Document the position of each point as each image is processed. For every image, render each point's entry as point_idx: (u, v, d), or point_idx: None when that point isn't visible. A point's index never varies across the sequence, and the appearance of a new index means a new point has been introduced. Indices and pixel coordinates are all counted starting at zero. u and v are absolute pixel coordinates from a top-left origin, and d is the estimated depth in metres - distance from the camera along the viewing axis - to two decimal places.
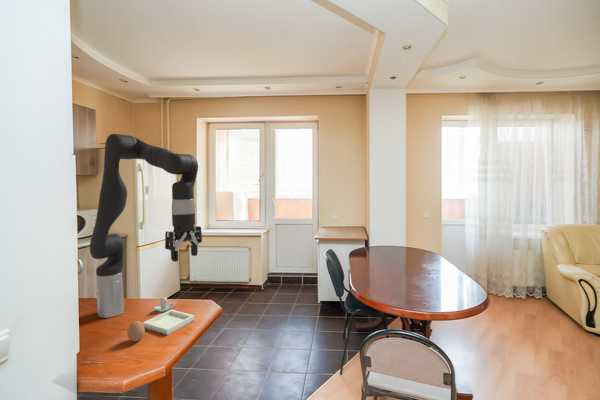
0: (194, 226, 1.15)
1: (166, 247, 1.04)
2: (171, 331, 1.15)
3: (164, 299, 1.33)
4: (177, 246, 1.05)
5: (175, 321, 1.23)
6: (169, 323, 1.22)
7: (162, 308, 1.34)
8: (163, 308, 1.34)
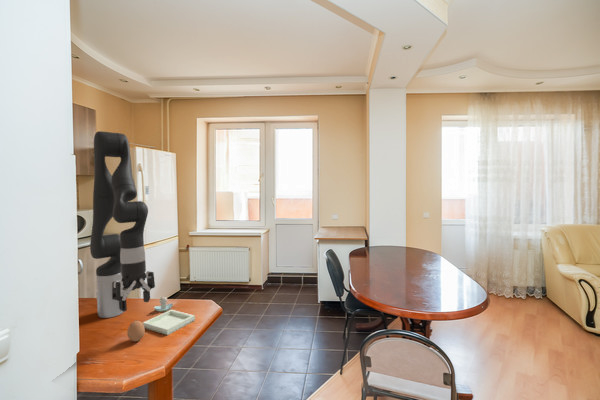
0: None
1: (113, 298, 1.03)
2: (171, 331, 1.15)
3: (164, 299, 1.33)
4: (125, 296, 1.04)
5: (175, 321, 1.23)
6: (169, 323, 1.22)
7: (162, 308, 1.34)
8: (163, 308, 1.34)
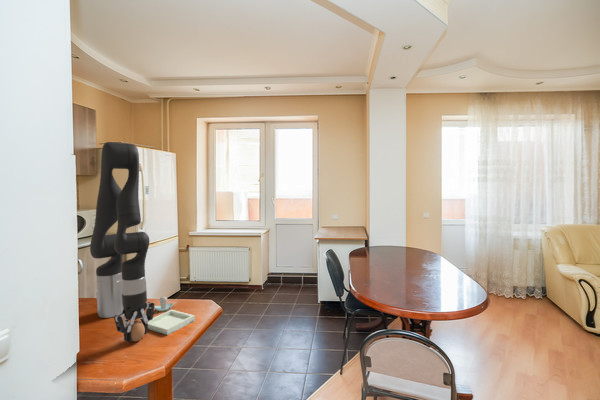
0: (148, 302, 1.15)
1: (118, 330, 1.04)
2: (171, 331, 1.15)
3: (164, 298, 1.34)
4: (129, 327, 1.06)
5: (175, 321, 1.23)
6: (169, 323, 1.22)
7: (162, 307, 1.34)
8: (163, 307, 1.34)
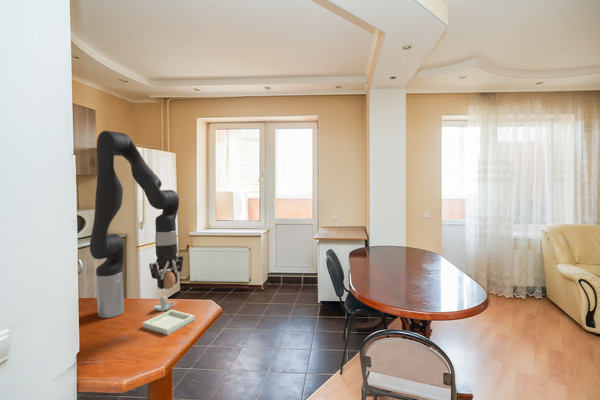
0: (177, 256, 1.26)
1: (153, 277, 1.16)
2: (171, 331, 1.15)
3: (164, 298, 1.34)
4: (162, 275, 1.17)
5: (175, 321, 1.23)
6: (169, 323, 1.22)
7: (162, 307, 1.35)
8: (163, 307, 1.35)
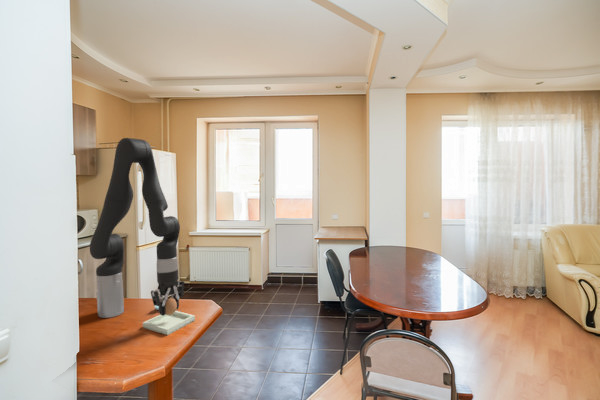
0: None
1: (154, 304, 1.17)
2: (171, 331, 1.15)
3: None
4: (164, 302, 1.18)
5: (175, 321, 1.23)
6: (169, 323, 1.22)
7: None
8: None
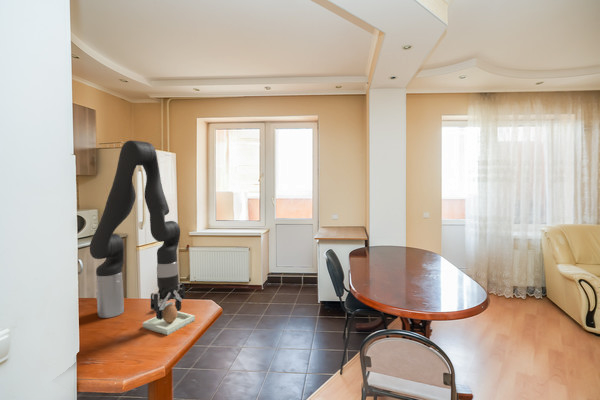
0: (178, 283, 1.27)
1: (151, 308, 1.16)
2: (171, 331, 1.15)
3: None
4: (161, 306, 1.17)
5: (175, 321, 1.23)
6: (169, 323, 1.22)
7: None
8: (163, 307, 1.35)
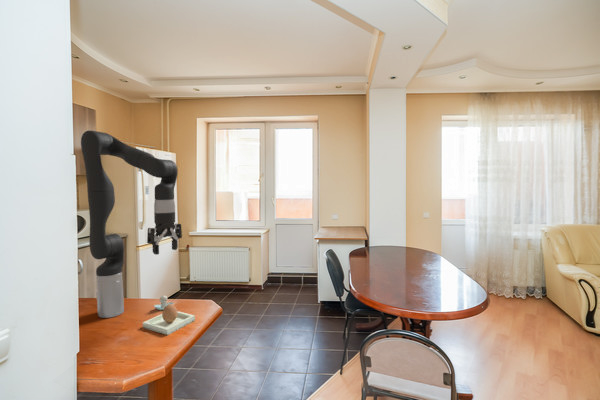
0: None
1: (148, 241, 1.18)
2: (171, 331, 1.15)
3: (164, 297, 1.35)
4: (158, 241, 1.20)
5: (175, 321, 1.23)
6: (169, 323, 1.22)
7: (162, 306, 1.35)
8: (163, 306, 1.35)
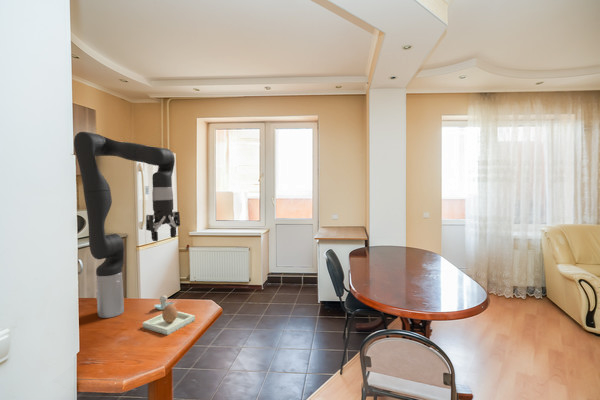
0: None
1: (147, 228, 1.20)
2: (171, 331, 1.15)
3: (164, 297, 1.35)
4: (157, 227, 1.22)
5: (175, 321, 1.23)
6: (169, 323, 1.22)
7: (162, 306, 1.36)
8: (163, 306, 1.36)
